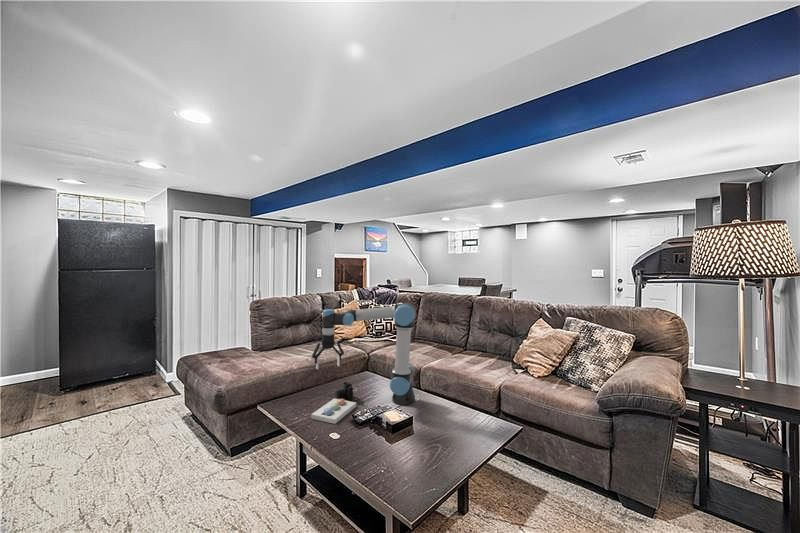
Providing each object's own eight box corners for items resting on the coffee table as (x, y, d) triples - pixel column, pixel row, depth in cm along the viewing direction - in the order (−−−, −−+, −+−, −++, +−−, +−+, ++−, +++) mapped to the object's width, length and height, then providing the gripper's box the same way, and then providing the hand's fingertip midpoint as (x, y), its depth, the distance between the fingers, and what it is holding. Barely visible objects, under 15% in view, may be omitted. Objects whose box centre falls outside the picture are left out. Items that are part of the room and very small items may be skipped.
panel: (356, 406, 209) (356, 402, 209) (335, 423, 186) (335, 419, 186) (334, 402, 215) (334, 398, 214) (311, 418, 192) (311, 414, 192)
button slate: (333, 413, 195) (333, 408, 195) (329, 417, 191) (329, 412, 191) (326, 412, 197) (326, 407, 197) (322, 415, 193) (322, 410, 192)
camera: (332, 396, 224) (333, 381, 224) (348, 393, 229) (348, 379, 228) (338, 404, 211) (338, 388, 211) (354, 401, 216) (354, 386, 216)
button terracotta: (346, 404, 208) (346, 399, 208) (342, 407, 204) (342, 402, 204) (339, 402, 210) (339, 398, 210) (335, 406, 206) (335, 401, 205)
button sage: (340, 408, 202) (340, 403, 202) (335, 412, 197) (335, 407, 197) (333, 407, 204) (333, 402, 203) (329, 410, 199) (329, 405, 199)
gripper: (345, 331, 220) (345, 363, 221) (307, 334, 209) (306, 368, 210) (349, 333, 214) (348, 366, 214) (309, 337, 202) (309, 371, 203)
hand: (328, 367), depth 212 cm, fingers open, 13 cm apart
